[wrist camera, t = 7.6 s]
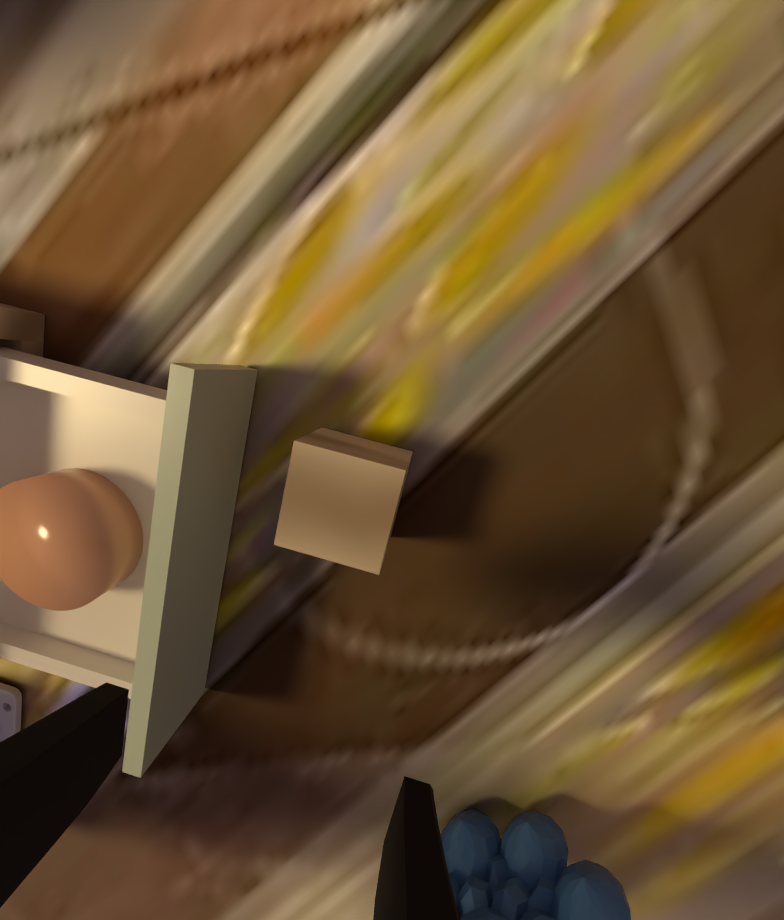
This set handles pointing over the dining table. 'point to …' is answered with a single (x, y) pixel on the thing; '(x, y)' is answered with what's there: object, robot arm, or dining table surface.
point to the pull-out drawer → (162, 519)
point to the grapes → (525, 872)
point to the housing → (22, 329)
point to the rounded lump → (66, 538)
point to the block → (342, 498)
